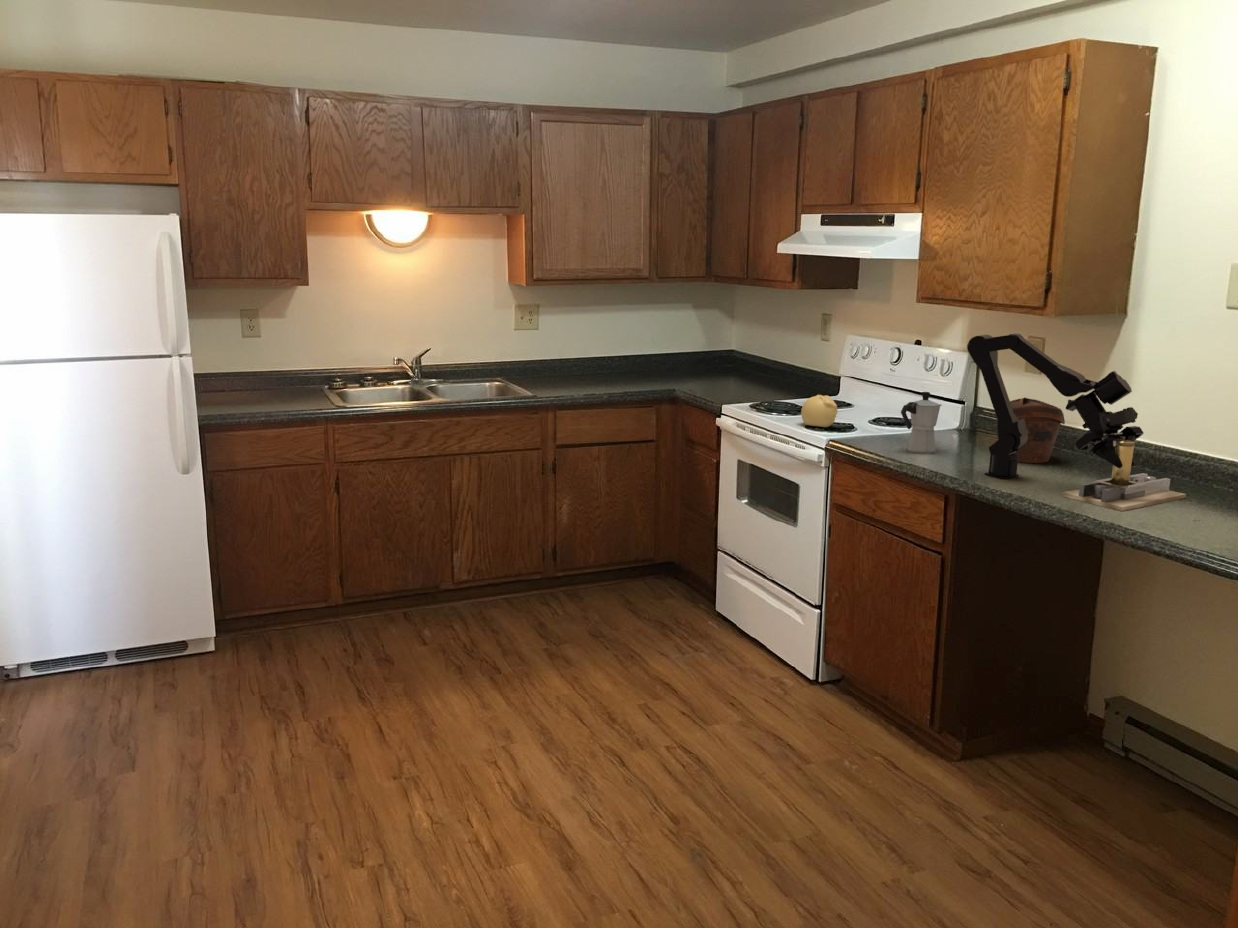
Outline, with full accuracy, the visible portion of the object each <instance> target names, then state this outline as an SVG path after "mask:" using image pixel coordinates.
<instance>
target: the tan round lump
mask: <svg viewBox="0 0 1238 928" xmlns="http://www.w3.org/2000/svg"><path fill="white" fill-rule="evenodd" d="M801 407H802V408H801V411H800V413H801V414H800V415H801V418H802V421H803V423H804V424H805V425H806V426H812V427H822V428H829V427H830V426H832V424H834V423H835V420H836V418H837V414H838V405H837V403H836V402H835V401H834V400H833V398H831V396H829V395H822V394H817V395H815V396H811V397H809V398H808V399H806V400H805V401H804V403H803V404H802V406H801Z"/></svg>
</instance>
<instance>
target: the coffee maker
mask: <svg viewBox="0 0 1238 928" xmlns="http://www.w3.org/2000/svg"><path fill="white" fill-rule="evenodd" d="M930 395H931V392H929V391H922V392H921V397H922V399H920V400H915V401H909V402H908V403H906V404H905V405H903V406H902V409H901V410H900V414H901V416H902V418H903V421H904V423H905V426H906V428H907V429H908V430H911V432H910V436H909V438H908V439H909V441H908V444H907V448H906V451H908V452H911V453H913V454H915V453H916V454H923V455H924V454H925V455H926V454H935V453H936V442H935V441H936V439H935V427H936V425H937V422H938V417H939V414H940V413H939V412H940V409H941V407H942V404H939V403H938V402H935V401H932V400H929V399H930ZM907 412H908V413H910V419H909V417H908V415H907Z"/></svg>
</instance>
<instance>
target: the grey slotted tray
mask: <svg viewBox="0 0 1238 928" xmlns="http://www.w3.org/2000/svg"><path fill="white" fill-rule="evenodd" d="M1170 485H1171V478H1168V477H1163V478H1158V479H1157V478H1156V476H1152V475H1148V473H1144V472H1142V473H1137V474H1130V478H1129V485H1128V486H1120V485H1116V484H1112V483H1111V477H1110V478H1108V477H1107V478H1103V479H1097V480H1094V481H1092V482H1085V483H1081V484H1079V488H1078V489H1079V496H1080V497H1087V496H1092V495H1093V498H1095V499H1101V502H1104V503H1107V502H1112V501H1117V500H1128V499H1133V498H1138V497H1143V496H1145V495H1148V494H1153V493H1158V492H1163V491H1168V490H1170Z"/></svg>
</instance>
